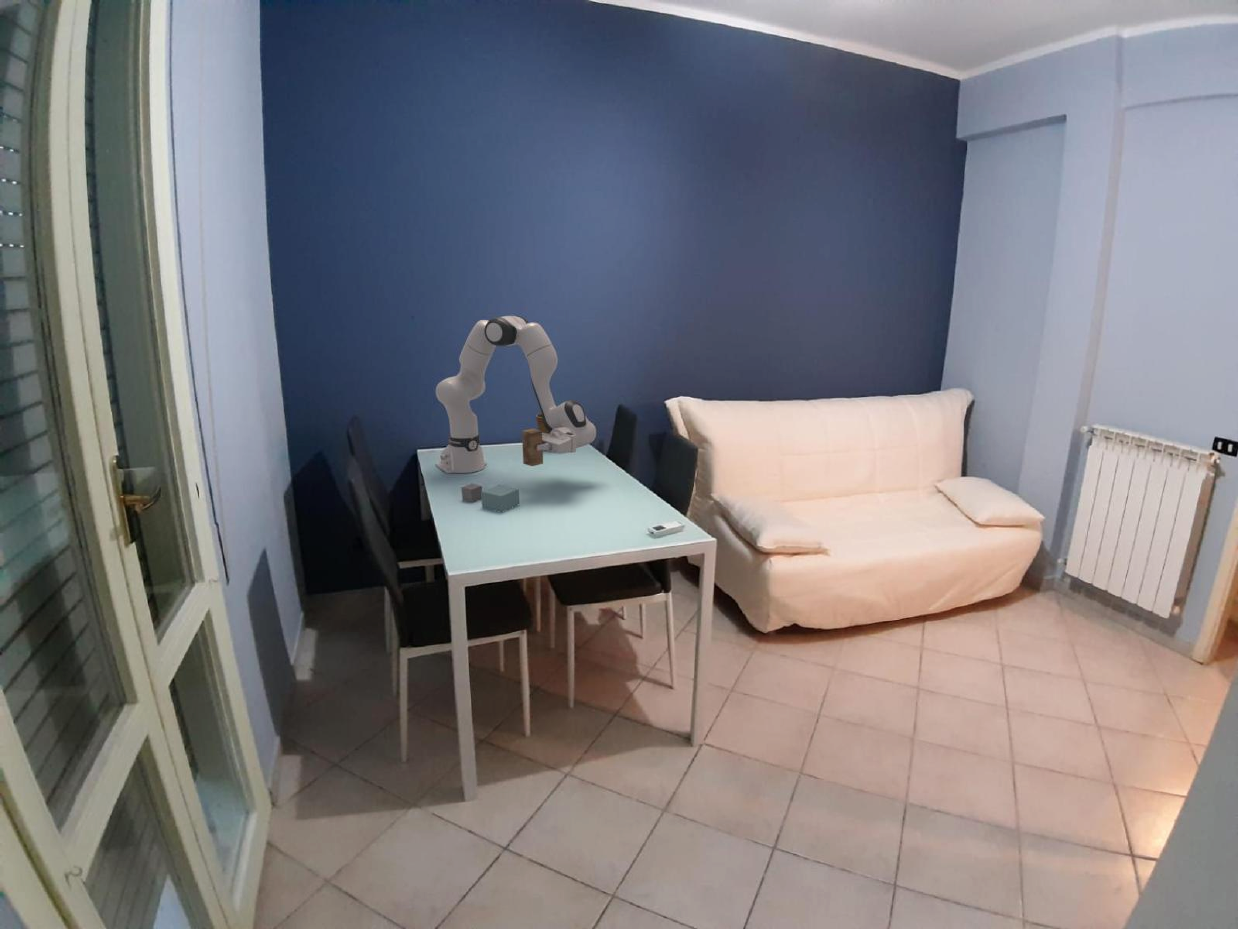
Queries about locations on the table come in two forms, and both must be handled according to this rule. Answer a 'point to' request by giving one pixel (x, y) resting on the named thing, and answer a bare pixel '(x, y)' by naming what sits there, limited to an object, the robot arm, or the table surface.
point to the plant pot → (541, 424)
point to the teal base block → (500, 498)
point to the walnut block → (532, 447)
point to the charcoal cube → (471, 493)
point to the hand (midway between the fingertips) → (530, 446)
